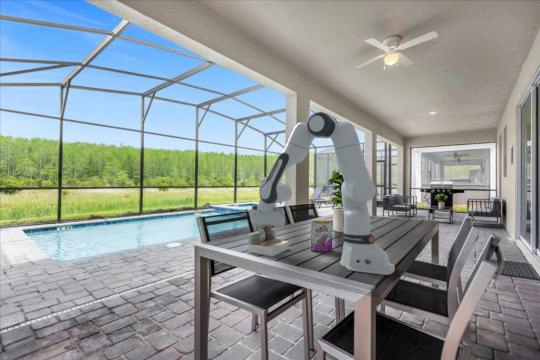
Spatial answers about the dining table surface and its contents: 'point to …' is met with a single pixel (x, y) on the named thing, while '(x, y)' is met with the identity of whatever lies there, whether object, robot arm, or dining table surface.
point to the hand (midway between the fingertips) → (267, 232)
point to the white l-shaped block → (268, 250)
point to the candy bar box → (321, 235)
